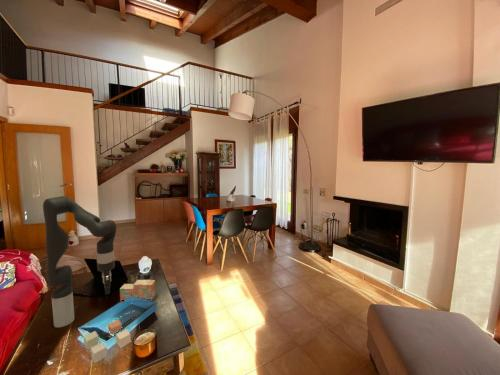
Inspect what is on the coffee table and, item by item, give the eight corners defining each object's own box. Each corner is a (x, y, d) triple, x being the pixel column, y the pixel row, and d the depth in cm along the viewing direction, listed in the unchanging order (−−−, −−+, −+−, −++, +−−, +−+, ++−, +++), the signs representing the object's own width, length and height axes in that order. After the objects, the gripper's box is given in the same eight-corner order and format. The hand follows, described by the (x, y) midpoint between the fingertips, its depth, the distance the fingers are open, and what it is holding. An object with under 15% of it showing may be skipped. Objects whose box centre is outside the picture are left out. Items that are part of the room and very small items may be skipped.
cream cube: (116, 343, 114) (115, 334, 114) (126, 337, 118) (126, 329, 118) (120, 348, 111) (119, 339, 111) (130, 342, 115) (130, 333, 115)
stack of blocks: (120, 301, 148) (119, 284, 147) (125, 296, 154) (124, 279, 153) (152, 301, 149) (151, 284, 148) (155, 296, 155) (155, 279, 154)
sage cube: (84, 345, 113) (83, 336, 112) (95, 339, 117) (95, 330, 116) (87, 350, 110) (86, 341, 109) (99, 344, 114) (98, 335, 113)
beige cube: (91, 357, 106) (90, 348, 105) (103, 350, 110) (102, 341, 109) (94, 363, 103) (94, 353, 102) (106, 356, 107) (106, 347, 106)
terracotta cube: (108, 332, 121) (108, 324, 121) (118, 327, 125) (118, 319, 125) (112, 337, 118) (111, 328, 118) (122, 332, 122) (121, 323, 121)
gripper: (96, 256, 116) (98, 285, 117) (97, 267, 104) (98, 299, 106) (113, 253, 120) (114, 281, 122) (115, 263, 108) (117, 294, 110)
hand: (107, 289), depth 114 cm, fingers open, 8 cm apart
